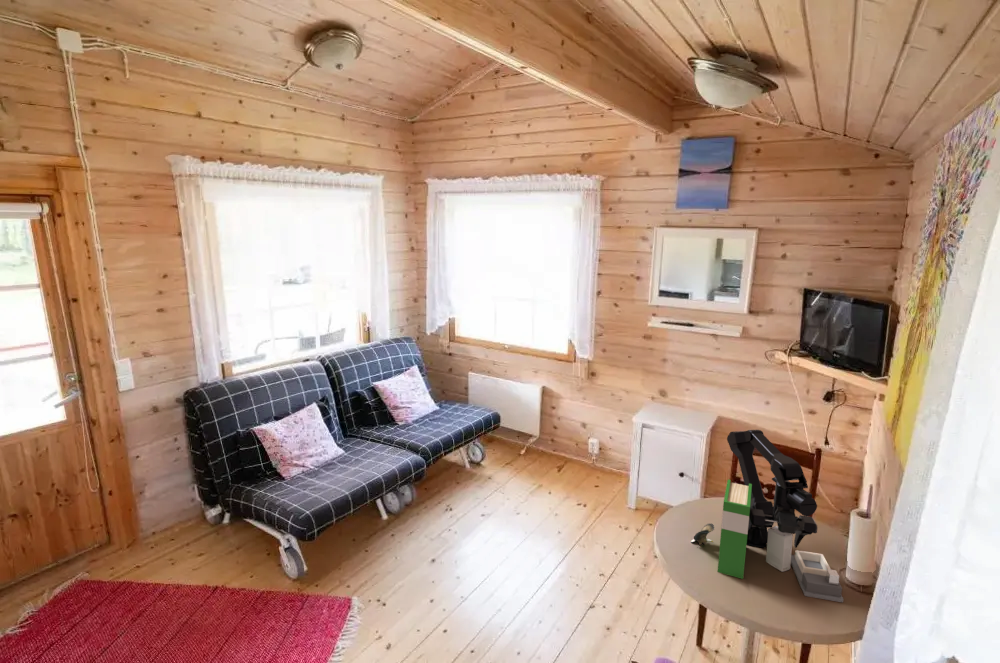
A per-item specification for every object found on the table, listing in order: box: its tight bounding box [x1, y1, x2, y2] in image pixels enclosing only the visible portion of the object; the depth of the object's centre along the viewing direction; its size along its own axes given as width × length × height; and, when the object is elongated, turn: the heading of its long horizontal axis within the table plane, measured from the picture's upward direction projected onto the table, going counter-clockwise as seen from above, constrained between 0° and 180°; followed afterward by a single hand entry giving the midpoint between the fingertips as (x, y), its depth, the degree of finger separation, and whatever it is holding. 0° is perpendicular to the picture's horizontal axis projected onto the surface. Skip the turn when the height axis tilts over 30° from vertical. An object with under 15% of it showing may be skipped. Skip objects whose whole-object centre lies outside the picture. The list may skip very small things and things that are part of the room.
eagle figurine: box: [690, 523, 715, 549], centre depth 178 cm, size 8×7×9 cm
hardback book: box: [717, 478, 752, 580], centre depth 170 cm, size 18×7×24 cm, turn 153°
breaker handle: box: [826, 568, 840, 585], centre depth 155 cm, size 2×3×3 cm
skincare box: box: [765, 525, 794, 572], centre depth 168 cm, size 6×4×12 cm
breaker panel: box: [791, 549, 844, 603], centre depth 163 cm, size 10×20×4 cm, turn 164°
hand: (779, 544), depth 168 cm, fingers open, 9 cm apart
